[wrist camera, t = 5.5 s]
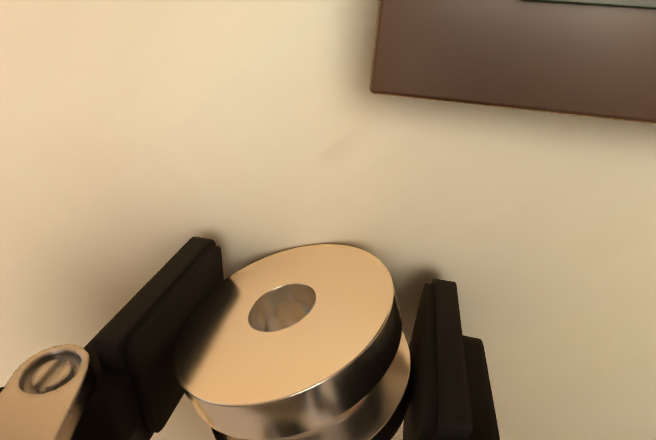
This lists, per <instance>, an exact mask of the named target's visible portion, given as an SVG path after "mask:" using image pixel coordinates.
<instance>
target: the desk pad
mask: <svg viewBox="0 0 656 440" xmlns="http://www.w3.org/2000/svg"><path fill="white" fill-rule="evenodd" d="M369 89H370V92H372V93H373V94H381V95H391V96H400V97H409V98H419V99H428V100H437V101H447V102H456V103H466V104H475V105H484V106H494V107H503V108H512V109H522V110H531V111H540V112H550V113H559V114H569V115H578V116H587V117H597V118H606V119H615V120H625V121H634V122H644V123H653V124H656V0H379V5H378V14H377V23H376V32H375V41H374V51H373V60H372V69H371V78H370V87H369Z"/></svg>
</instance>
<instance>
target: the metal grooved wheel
mask: <svg viewBox="0 0 656 440" xmlns="http://www.w3.org/2000/svg"><path fill="white" fill-rule="evenodd" d="M172 369H173V372H174V375H175V378H176V380H177V381H178V383H179V385H180V386H181V388H182V389H183V391H184V392H185V394H186V396H187V397H188V399H189V400H190V402H191V403H192V405H193V406H194V408H195V410H196V411H197V413H198V414H199V416H200V417H201V418H202V419H203V420H204V421H205V422H206V423H207V424H208V425H209V426H211V430H212V433H213V436H214V438H215V440H391V439H392V438H393V437H394V435H395V434H396V432H397V431H398V429H399V427H400V426H401V424H402V422H403V420H404V418H405V416H406V413H407V411H408V408H409V405H410V402H411V398H412V393H413V387H414V366H413V360H412V355H411V351H410V347H409V344H408V341H407V339H406V336H405V334H404V332H403V331H402V317H401V312H400V308H399V305H398V301H397V297H396V293H395V289H394V285H393V281H392V278H391V275H390V273H389V271H388V269H387V268H386V266H385V265H384V264H383V263H382V262H381V261H380V260H379V259H378V258H376V257H375V256H374V255H372V254H370V253H368V252H366V251H364V250H362V249H359V248H355V247H351V246H346V245H338V244H318V245H309V246H303V247H298V248H293V249H289V250H285V251H282V252H279V253H276V254H273V255H270V256H268V257H265V258H263V259H261V260H258V261H256V262H254V263H252V264H250V265H248V266H246V267H244V268H242V269H241V270H239V271H237V272H236V273H234V274H232V275H231V276H229V277H228V278H226V279H225V280H224V281H222V282H221V283H220V284H218V285H217V286H216V287H214V288H213V289H212V290H211V291H210V292H209V293H208V294H206V295H205V296H204V297H203V298H202V299H201V300H200V301H199V302H198V303H197V305H196V306H195V307H194V308H193V309H192V311H191V312H190V314H189V315H188V316H187V318H186V319H185V320H184V322H183V324H182V325H181V327H180V329H179V331H178V333H177V336H176V338H175V341H174V345H173V349H172Z"/></svg>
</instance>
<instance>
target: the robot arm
mask: <svg viewBox="0 0 656 440" xmlns="http://www.w3.org/2000/svg"><path fill="white" fill-rule="evenodd" d="M222 281H224V277H223V267H222V256H221V248H220V247H219V246H216V243H215V241H214V240H211V239H206V238H200V237H192V238H191V239H190V240H189V241H188V242H187V243H186V244H185V245H184V246H183V247H182V248H181V249H180V250H179V251H178V252H177V253H176V254H175V255H174V256H173V257H172V258H171V259H170V260H169V261H168V262H167V263H166V265H165V266H164V267H163V268H162V269H161V270H160V271H159V272H158V273H157V274H156V275H155V276H154V277H153V278H152V279H151V280H150V281H149V282H148V283H147V284H146V285H145V286H144V287H143V288H142V289H141V290H140V291H139V292H138V293H137V294H136V295H135V296H134V297H133V298H132V299H131V300H130V301H129V302H128V303H127V304H126V305H125V306H124V307H123V308H122V309H121V310H120V311H119V312H118V313H117V314H116V315H115V316H114V318H113V319H112V320H111V321H110V322H109V323H108V324H107V325H106V326H105V327H104V328H103V329H102V330H101V331H100V332H99V333H98V334H97V335H96V336H95V337H94V338H93V339H92V340H91V341H90V342H89V343H88V344H87V345H86V346H85V347H84V348H82V347H79V346H77V345H60V346H54V347H51V348H48V349H45V350H43V351H41V352H39V353H37V354H35V355H33V356H31V357H30V358H29V359H28V360H26V361H25V362H24V363H22V364H21V365H20V366H19V368H18V369H17V370H16V371H15V372H14V373H13V375H12V376H11V378H10V379H9V381H8V382H7V384H6V385H5V386H4V387H1V388H0V440H150V438H151V437H152V435H153V434H154V432H156V433H158V432H160V431H161V430H162V429H163V427H164V426H165V424H166V423H167V421H168V419H169V418H170V416H171V414H172V413H173V411H174V409H175V408H176V406H177V404H178V403H179V401H180V399H181V398H182V396H183V394H184V393H185V392H184V391H183V389H182V388H181V386H180V385H179V383H178V381H177V380H176V378H175V375H174V372H173V369H172V349H173V345H174V341H175V338H176V336H177V333H178V331H179V329H180V327H181V325H182V324H183V322H184V320H185V319H186V318H187V316H188V315H189V314H190V312H191V311H192V309H193V308H194V307H195V306H196V305H197V303H198V302H199V301H200V300H201V299H202V298H203V297H204V296H205V295H206V294H208V293H209V292H210V291H211V290H212V289H213V288H214V287H216V286H217V285H218V284H220V283H221V282H222ZM409 347H410V351H411V355H412V360H413V366H414V387H413V393H412V398H411V402H410V405H409V408H408V411H407V413H406V416H405V418H404V424H403V440H500V437H499V431H498V426H497V420H496V414H495V409H494V403H493V397H492V391H491V386H490V380H489V374H488V369H487V363H486V357H485V352H484V346H483V343H482V341H481V339H478V338H473V337H468V336H463V335H462V328H461V320H460V311H459V303H458V294H457V286H456V283H455V282H451V281H446V280H440V279H433V281H432V284H431V283H425V284H424V287H423V291H422V295H421V299H420V304H419V308H418V312H417V316H416V321H415V325H414V329H413V333H412V337H411V342H410V346H409Z"/></svg>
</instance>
